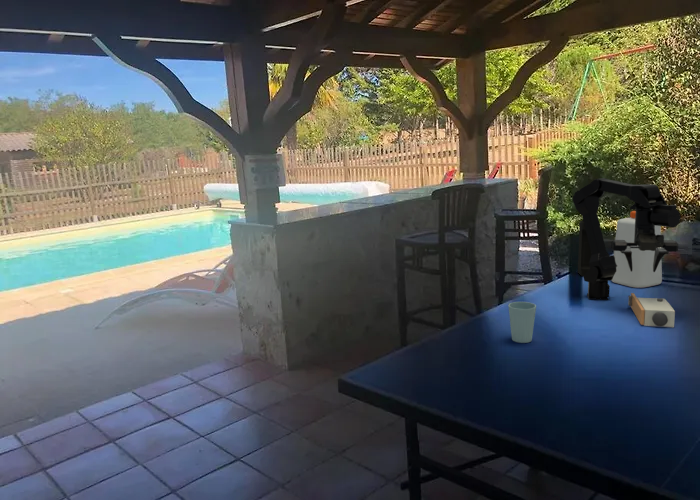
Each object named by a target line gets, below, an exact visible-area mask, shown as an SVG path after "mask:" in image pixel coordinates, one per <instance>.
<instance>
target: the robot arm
mask: <svg viewBox="0 0 700 500" xmlns="http://www.w3.org/2000/svg"><path fill="white" fill-rule="evenodd" d="M605 193H610V194H615V195H619V196H623V197H626V198H627V199H629V200H630V201H631V202H634V203H633V204H632V205H631V206H629V210H632V211H636V214H635V235H634V243H627V242H626V241H625V240H615V239H613V240H611V243H610V244H611V245H610V249H612V251H613V252H614V251H620V252H621V253H624V254H625V256H626V259H627V262H628V265H629V268H630V271H631V272H632V268H633V267H632V252H631V251H630V249H631V248H639V250H641V251H645V250H651V251H655V254H654V263H653V272H655V271H656V269H657V266H658V264H659V262H660V260H661V261H662V258H663V257H664V256H665V255H668V254H669V252H673V253H675V252H679V243H677V242H676V241H675V240H674V239H665V235H664V234H661V235H655V225H656V226H661V227H667V228H676V227H678V226H679V224H680V223H681V218H682V217H681V213H680V211H679V210H678V209H677V205H676V204H670V205H668V203H667V201H666V200H665V198H664V196H663V195H662V193H661V191H660V188H659V186H658V185H656V184H632V183H626V182H622V181H618V180H614V179H613V180H612V179H609V178H605V177H602V178H596V179H594V180H592V181H591V182H590V183H588V184H586V186H583V187H581V188H580V189H579V190H576V191H575V192H574V195H573V196H572V201H573V205H574V207H575V209H576V211H577V212H578V213H579V214H580V215H581V217H582V220H583V221H584V225H585V229H586V233H587V238H588V242H589V246H590V250H591V258H590V261H589V267H590V269H589V270H588V271H587V272H586V273H585V274H584V275H583V276H582V277H583V281H584V282H587V283H588V284H587V293H586V295H587V298H588V300H600V301H601V300H603V301H604V300H605V301H608V300H609V298H610V289H611V286H610V284H609V281H611V280H612V279H613V276H614V275H615V272H616V267H617V265H616V262H615V257H614V254H613V255H610V254H609V252H607V249H606V245H605V240H604V236H603V233H602V229H601V224H600V223H599V222H600V220H599V219H600V218H599V216H598V210H599V207H600V199H601V198H602V197H604V195H605ZM637 245H638V246H637ZM656 248H657V249H656ZM611 282H612V281H611Z"/></svg>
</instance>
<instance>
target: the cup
mask: <svg viewBox="0 0 700 500" xmlns="http://www.w3.org/2000/svg"><path fill="white" fill-rule="evenodd" d="M536 312H537V305H536V303H533V302H529V301H514V302H513V301H512V302H510V303H509V304H508V313H509V315H508V316H509V323H510V324H509V325H510V335H511V340H512V341H513V342H515V343H519V344H525V343H527V344H528V343H530V342H532V340H533V335H534V334H533V333H534V325H535V318H536Z"/></svg>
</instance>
